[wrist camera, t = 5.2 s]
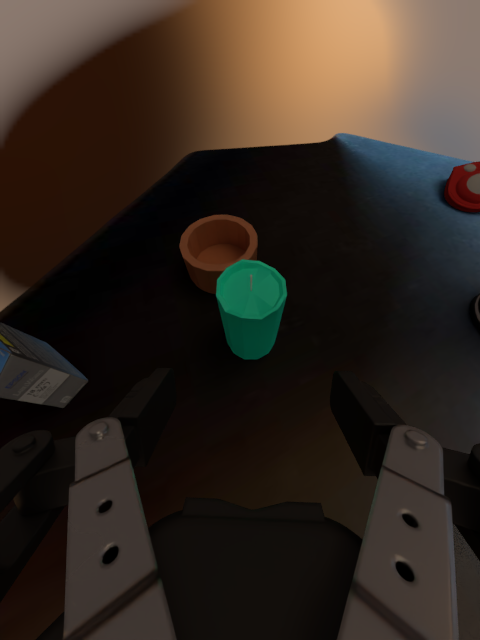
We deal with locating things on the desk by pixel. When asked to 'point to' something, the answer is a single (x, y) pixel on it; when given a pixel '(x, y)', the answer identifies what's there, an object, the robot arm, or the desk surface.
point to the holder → (216, 248)
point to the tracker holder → (464, 188)
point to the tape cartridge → (35, 371)
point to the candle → (251, 307)
